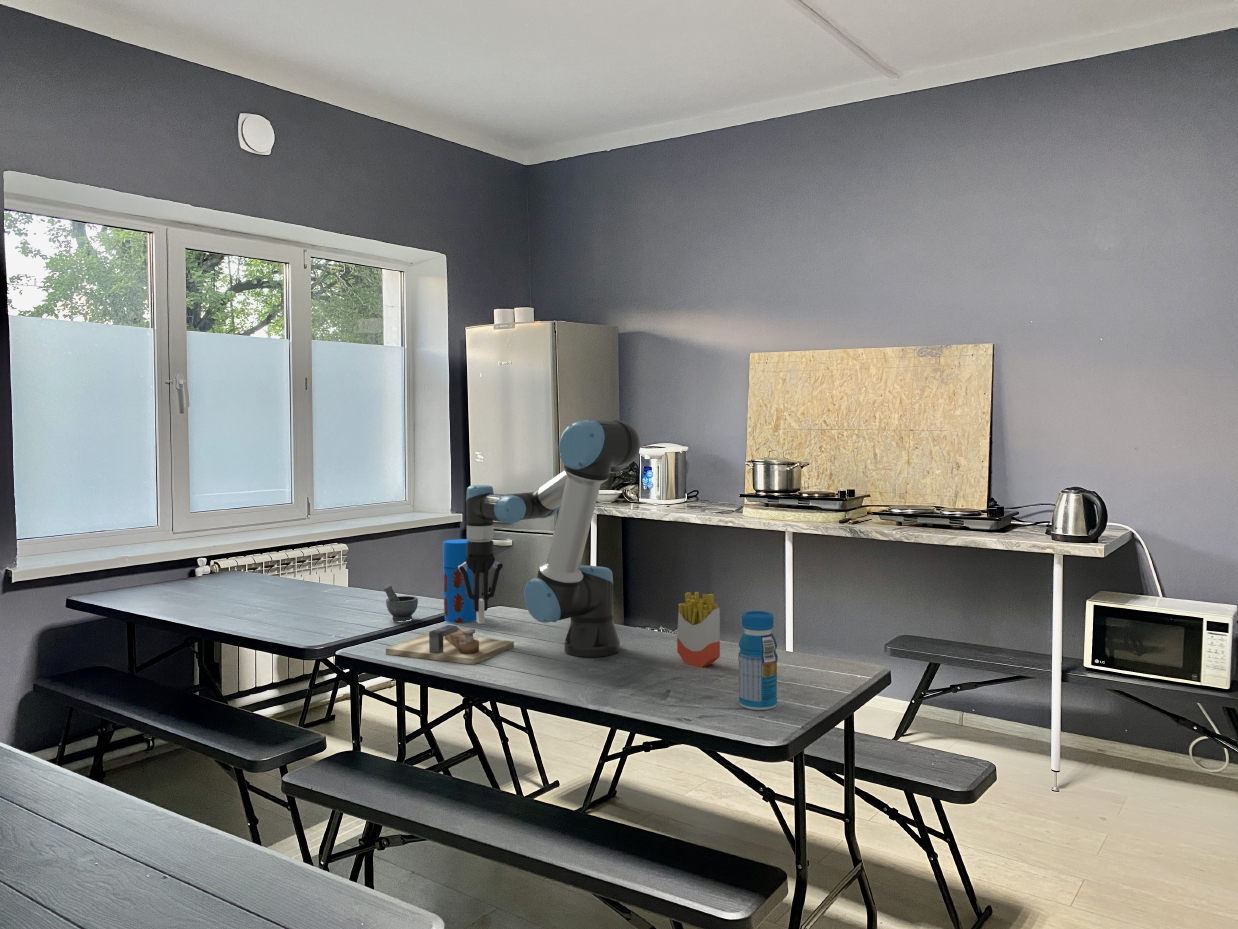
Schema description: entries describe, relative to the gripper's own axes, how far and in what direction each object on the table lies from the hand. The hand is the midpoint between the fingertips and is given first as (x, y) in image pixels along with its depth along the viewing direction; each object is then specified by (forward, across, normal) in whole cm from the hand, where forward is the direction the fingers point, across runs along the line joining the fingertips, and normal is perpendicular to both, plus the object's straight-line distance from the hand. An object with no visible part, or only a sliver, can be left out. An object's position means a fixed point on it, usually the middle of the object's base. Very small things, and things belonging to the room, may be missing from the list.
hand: (480, 622), depth 250 cm
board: (+6, +10, +6) cm, 13 cm away
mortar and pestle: (+7, +14, -39) cm, 42 cm away
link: (+4, +8, +7) cm, 11 cm away
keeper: (+4, +13, +9) cm, 17 cm away
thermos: (+6, -3, -32) cm, 33 cm away
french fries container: (+5, -42, +49) cm, 65 cm away
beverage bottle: (+4, -37, +84) cm, 92 cm away
